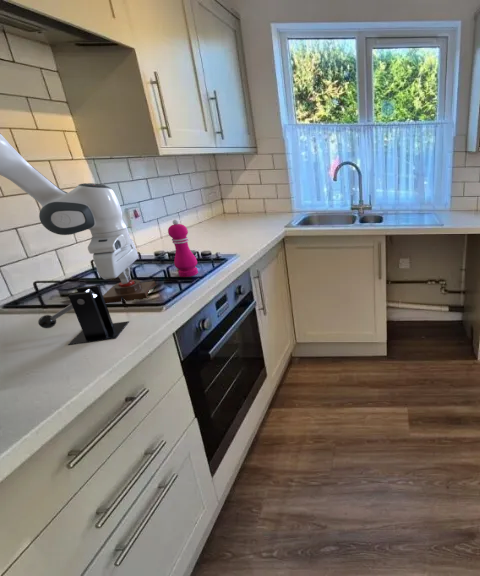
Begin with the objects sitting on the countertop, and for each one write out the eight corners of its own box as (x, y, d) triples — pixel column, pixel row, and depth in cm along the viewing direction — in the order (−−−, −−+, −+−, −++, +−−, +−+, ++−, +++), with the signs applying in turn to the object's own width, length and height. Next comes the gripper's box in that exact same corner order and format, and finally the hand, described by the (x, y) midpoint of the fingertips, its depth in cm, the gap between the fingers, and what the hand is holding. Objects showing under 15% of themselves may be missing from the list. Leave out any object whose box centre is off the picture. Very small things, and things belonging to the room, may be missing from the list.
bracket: (69, 348, 86) (48, 300, 81) (87, 330, 94) (69, 285, 89) (117, 342, 88) (99, 294, 83) (130, 325, 96) (115, 280, 91)
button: (118, 290, 111) (116, 285, 111) (123, 285, 115) (121, 280, 114) (133, 288, 112) (131, 283, 112) (137, 284, 116) (135, 279, 115)
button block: (102, 304, 109) (98, 292, 107) (115, 291, 118) (111, 280, 116) (146, 299, 112) (143, 287, 110) (156, 287, 121) (153, 276, 119)
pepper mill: (191, 278, 128) (177, 222, 120) (173, 277, 129) (157, 222, 121) (203, 271, 134) (191, 217, 126) (186, 270, 135) (172, 217, 127)
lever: (43, 333, 86) (31, 323, 85) (51, 326, 89) (39, 317, 87) (94, 301, 86) (82, 291, 85) (100, 295, 89) (88, 286, 88)
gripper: (114, 231, 116) (127, 272, 121) (84, 249, 98) (101, 296, 103) (136, 230, 117) (148, 269, 123) (110, 247, 99) (126, 293, 105)
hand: (126, 282), depth 113 cm, fingers closed, pressing on button
